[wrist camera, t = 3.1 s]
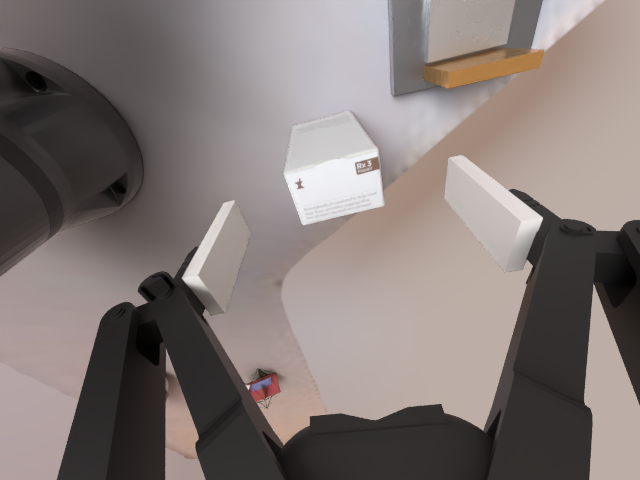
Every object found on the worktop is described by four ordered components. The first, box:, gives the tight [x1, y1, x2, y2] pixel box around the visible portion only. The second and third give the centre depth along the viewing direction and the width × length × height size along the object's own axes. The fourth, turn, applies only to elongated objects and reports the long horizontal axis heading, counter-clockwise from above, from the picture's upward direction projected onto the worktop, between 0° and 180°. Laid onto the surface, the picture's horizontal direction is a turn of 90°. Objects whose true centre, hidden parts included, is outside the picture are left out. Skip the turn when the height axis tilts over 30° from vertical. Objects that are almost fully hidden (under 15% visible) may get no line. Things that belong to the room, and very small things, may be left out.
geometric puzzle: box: [246, 369, 281, 409], centre depth 54 cm, size 7×7×8 cm
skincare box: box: [283, 110, 385, 225], centre depth 21 cm, size 6×4×12 cm
